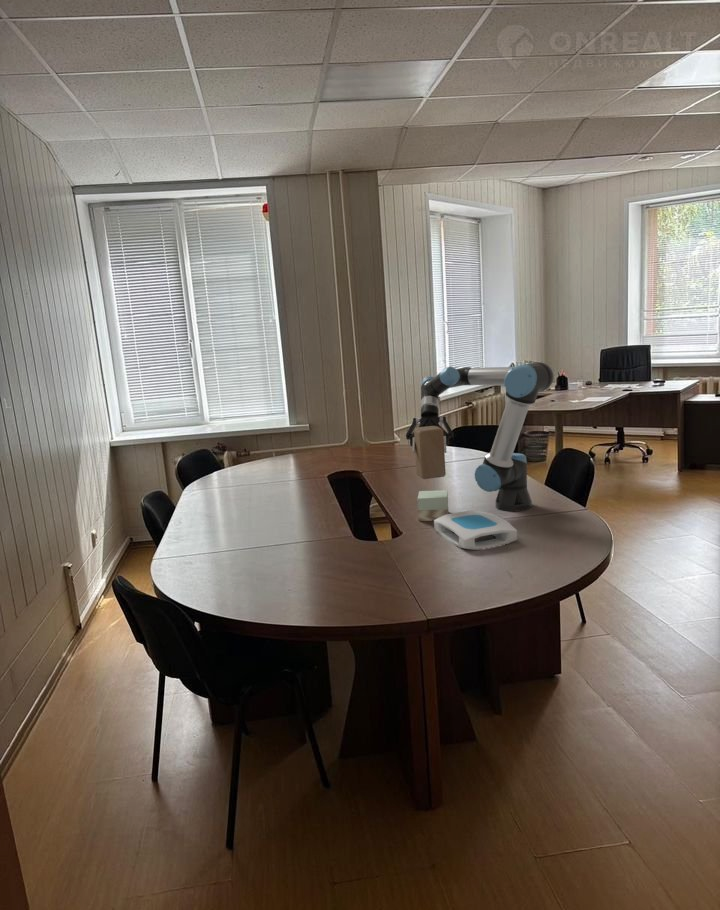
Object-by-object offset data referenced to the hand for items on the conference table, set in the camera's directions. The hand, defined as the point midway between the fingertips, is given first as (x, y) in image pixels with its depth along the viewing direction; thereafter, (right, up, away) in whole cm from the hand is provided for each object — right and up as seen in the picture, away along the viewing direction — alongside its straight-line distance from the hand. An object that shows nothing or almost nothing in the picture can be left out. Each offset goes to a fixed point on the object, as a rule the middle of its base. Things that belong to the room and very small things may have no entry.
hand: (429, 451), depth 270 cm
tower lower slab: (+3, -27, +8) cm, 29 cm away
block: (+1, -10, +3) cm, 11 cm away
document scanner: (+15, -32, -21) cm, 41 cm away
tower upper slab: (+2, -23, +7) cm, 24 cm away
